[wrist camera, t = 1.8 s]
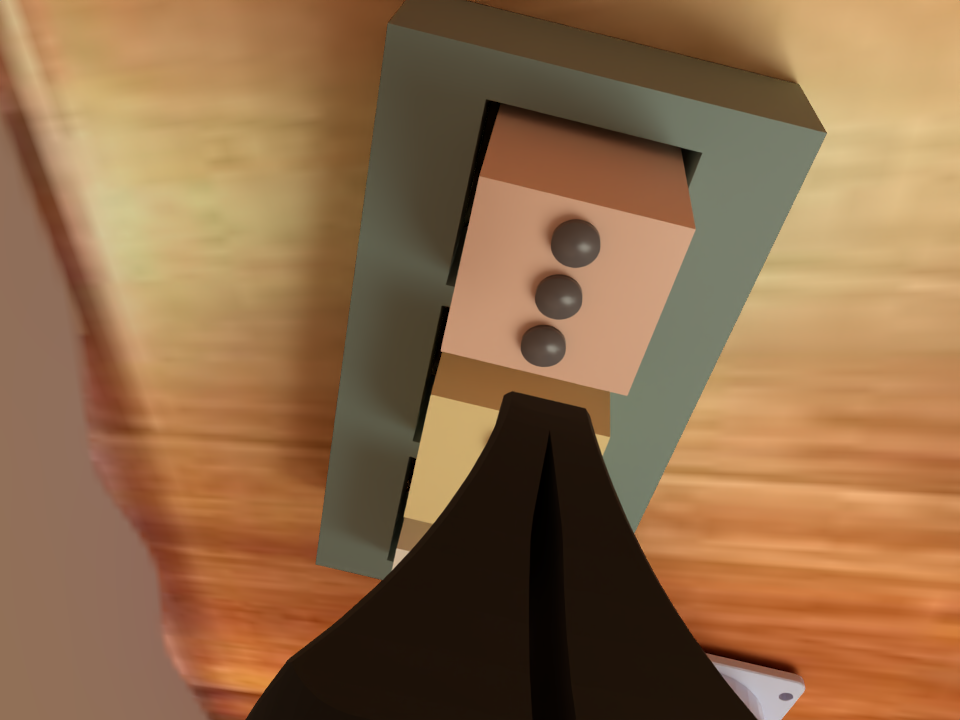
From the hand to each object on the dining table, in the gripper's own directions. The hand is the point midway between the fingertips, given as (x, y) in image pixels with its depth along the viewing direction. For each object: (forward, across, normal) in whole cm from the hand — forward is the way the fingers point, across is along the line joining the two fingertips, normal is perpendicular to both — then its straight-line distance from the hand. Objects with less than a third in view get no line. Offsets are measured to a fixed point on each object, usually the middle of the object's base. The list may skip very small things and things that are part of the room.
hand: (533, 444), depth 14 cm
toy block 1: (+8, 0, -1) cm, 8 cm away
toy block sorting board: (+10, 0, +4) cm, 11 cm away
